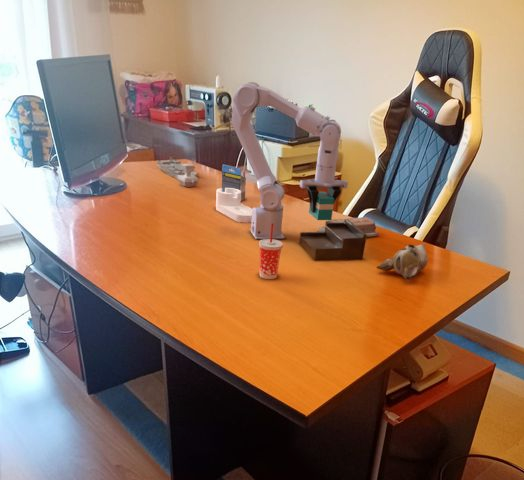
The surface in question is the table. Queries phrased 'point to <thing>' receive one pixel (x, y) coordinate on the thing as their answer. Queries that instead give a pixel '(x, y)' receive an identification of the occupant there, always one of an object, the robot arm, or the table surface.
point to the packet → (323, 207)
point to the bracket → (232, 205)
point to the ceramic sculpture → (407, 261)
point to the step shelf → (335, 242)
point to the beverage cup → (269, 256)
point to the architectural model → (172, 167)
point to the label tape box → (233, 180)
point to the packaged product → (361, 223)
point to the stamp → (187, 176)
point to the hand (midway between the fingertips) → (320, 211)
